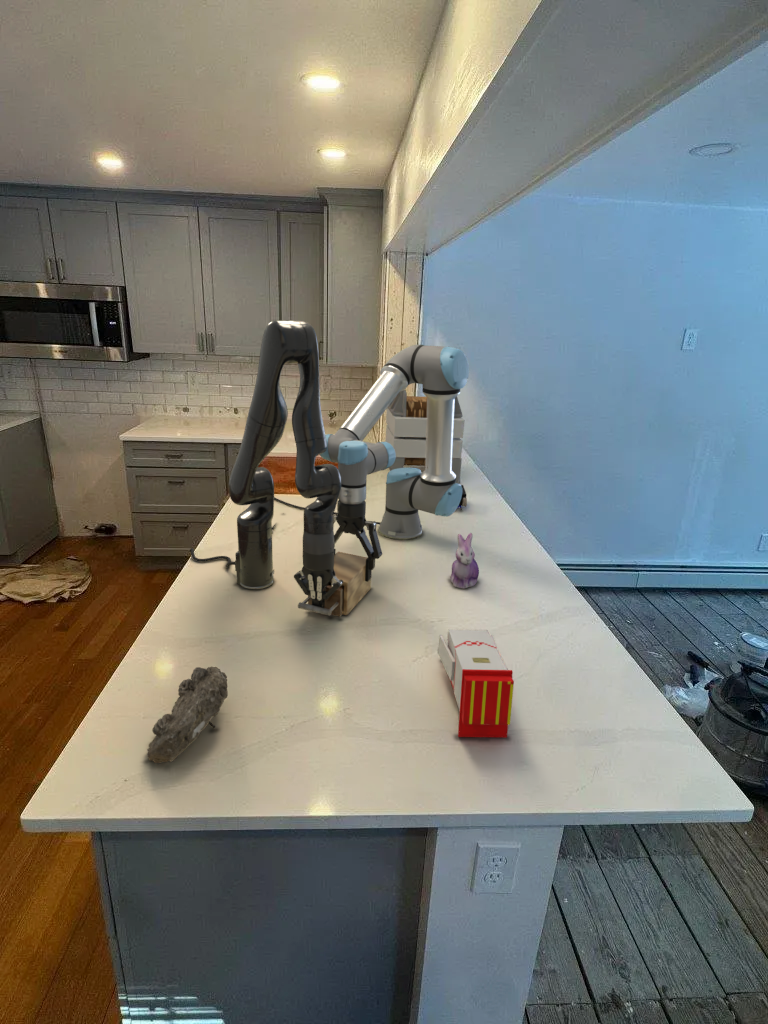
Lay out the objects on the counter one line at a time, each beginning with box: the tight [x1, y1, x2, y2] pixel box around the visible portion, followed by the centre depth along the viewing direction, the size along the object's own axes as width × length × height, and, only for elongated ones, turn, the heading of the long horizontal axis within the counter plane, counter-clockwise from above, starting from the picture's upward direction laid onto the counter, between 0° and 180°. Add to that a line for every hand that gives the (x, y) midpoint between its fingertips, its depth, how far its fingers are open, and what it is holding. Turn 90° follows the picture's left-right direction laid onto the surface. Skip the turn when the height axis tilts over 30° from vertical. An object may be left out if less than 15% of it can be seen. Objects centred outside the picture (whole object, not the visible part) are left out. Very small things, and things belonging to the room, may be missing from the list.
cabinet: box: [330, 551, 372, 616], centre depth 153 cm, size 16×10×10 cm, turn 159°
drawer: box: [297, 582, 344, 617], centre depth 147 cm, size 21×9×7 cm, turn 159°
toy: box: [437, 628, 515, 738], centre depth 117 cm, size 12×13×30 cm
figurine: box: [450, 532, 480, 589], centre depth 164 cm, size 9×10×15 cm
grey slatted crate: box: [384, 389, 465, 484], centre depth 268 cm, size 34×33×41 cm
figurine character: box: [457, 484, 468, 511], centre depth 230 cm, size 7×8×15 cm
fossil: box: [146, 666, 229, 764], centre depth 104 cm, size 22×10×15 cm
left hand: (318, 610), depth 141 cm, fingers closed
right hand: (349, 575), depth 157 cm, fingers closed on cabinet, 10 cm apart
